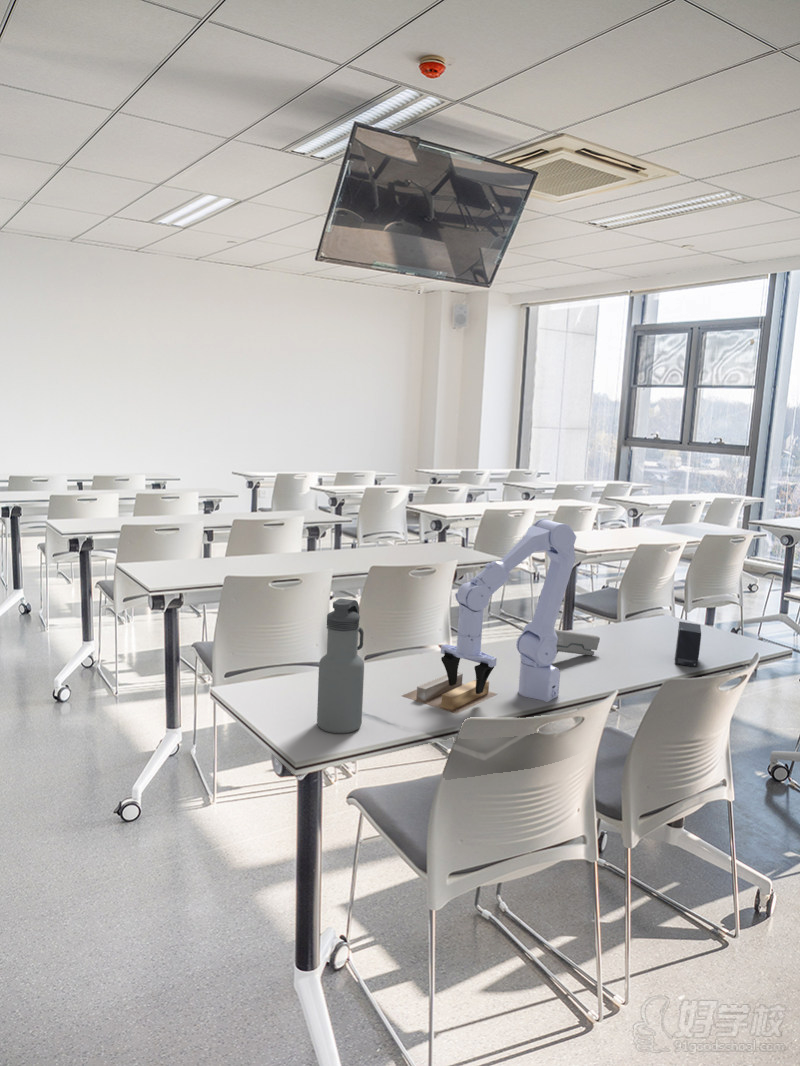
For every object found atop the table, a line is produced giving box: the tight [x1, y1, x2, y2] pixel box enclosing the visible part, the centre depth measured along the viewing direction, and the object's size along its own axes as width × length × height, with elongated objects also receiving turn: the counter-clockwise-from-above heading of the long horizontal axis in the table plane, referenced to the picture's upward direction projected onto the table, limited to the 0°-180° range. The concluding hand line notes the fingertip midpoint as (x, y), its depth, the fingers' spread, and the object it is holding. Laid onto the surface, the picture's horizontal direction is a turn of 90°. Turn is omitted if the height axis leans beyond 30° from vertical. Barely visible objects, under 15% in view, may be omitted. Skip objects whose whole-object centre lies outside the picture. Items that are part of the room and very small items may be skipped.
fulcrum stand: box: [401, 671, 498, 714], centre depth 197 cm, size 16×18×4 cm
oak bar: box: [441, 679, 490, 710], centre depth 194 cm, size 16×3×3 cm, turn 142°
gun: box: [554, 628, 600, 656], centre depth 233 cm, size 2×25×10 cm, turn 125°
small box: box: [674, 621, 702, 668], centre depth 237 cm, size 11×6×10 cm, turn 161°
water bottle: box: [316, 598, 365, 734], centre depth 175 cm, size 10×10×28 cm
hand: (465, 688), depth 194 cm, fingers open, 7 cm apart
